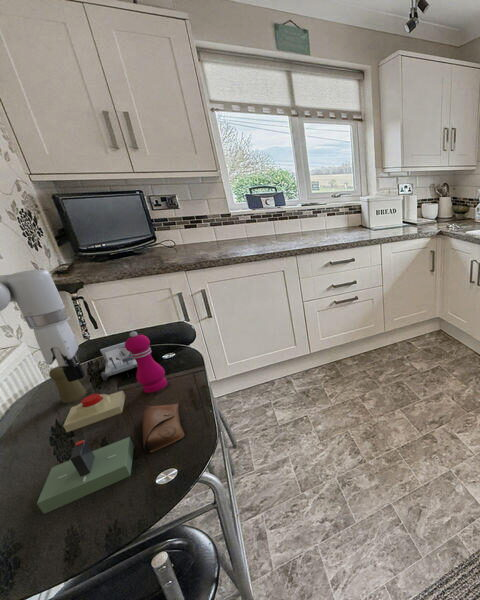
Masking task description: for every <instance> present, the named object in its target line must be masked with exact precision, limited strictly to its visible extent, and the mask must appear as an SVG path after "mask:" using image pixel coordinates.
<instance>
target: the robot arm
mask: <svg viewBox="0 0 480 600" xmlns="http://www.w3.org/2000/svg"><path fill="white" fill-rule="evenodd" d="M51 275H52V274H51V273H50V272H48V270H46V269H29V270H23V271H18V272H14V273H11V274H2V275H0V312H2V311H4V310H5V309H6V308H7V307H8V306H9V304H10V303H13V302H15V303H16V305H17V306H18V308H19V310H20V312H21V314H22V317H23V318H24V320H25V322H26V324H27V326H28V328H29V329H30V330H33V332H34V337H35V341H36V342H37V346H38V347H39V350H40V352H41V355H42V357H43V359H44V362H45V364H46V365H50V366H51V365H52V364H53V363H54V362H55V360H56V363H57V366H59V367H60V368H62V370H63V372H64V374H65V376H66V378H67V380H68V381H69V382H72V381H75V380H78V381H79V380H81V379H84V378H85V376H86V374H85V371H84V370H83V367H82V365H81V363H80V361H79V358H78V356H77V351H78V350H79V343H78V341H77V338H76V336H75V334H74V331H73V330H72V327H71V326H70V323H69V322H68V321H69V320H71V317H70V315H69V313H68V311H67V308H66V306H65V304H64V302H63V299H62V297H61V294H60V293H59V289H58V288H57V286H56V284H55V281H54V280H53V277H52V276H51Z"/></svg>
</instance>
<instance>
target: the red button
mask: <svg viewBox="0 0 480 600" xmlns="http://www.w3.org/2000/svg"><path fill="white" fill-rule="evenodd" d="M100 395H101V394H100V393H92V394H90V395H88V396H85V397H84V398H82V399H81V401H80V403H81V402H82V404H83V406H84V407H89V406H92V405H95V404H96V403H98V402H100V401H101V400H102V398H101V396H100Z"/></svg>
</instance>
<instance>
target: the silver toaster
mask: <svg viewBox="0 0 480 600" xmlns="http://www.w3.org/2000/svg"><path fill="white" fill-rule="evenodd" d="M125 342H126V341H125ZM125 342H120V343H117V344H113V345H110V346H107V347H103V348H100V351H99V352H100V353H101V355H102V357H103V359H102V360H101V362H102V365H103V367H104V368H105V369H104V371H102V372H100V376H101V379H102V380H103V381H108V377H110V376H114V375H117V374H120V373H123V372H125V371H129V370H132V369H135V368H137V367H138V366H137V362H136V360H135V358H132V355H131V352H129V351H128V350H126V348H125Z"/></svg>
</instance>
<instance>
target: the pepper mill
mask: <svg viewBox="0 0 480 600" xmlns="http://www.w3.org/2000/svg"><path fill="white" fill-rule="evenodd" d="M150 344H151V340H150V339H149V337H148V336H146V335H144V334H138V332H137V331H135V330H132V331H131V332H129V337H128V338H127V339H126V340H125V348H126V350H128V351H129V352H131V355H132V358H135V360H136V362H137V366H138V367H136V368H137V369H136V380H137V383H138V384H139V385H142V390H143V392H144V393H145V394H151V393H155V392H158V391H160V390H162V389H164V388H165V387H166V386H168V380H167V378H166V377H165V375H166V371H165V368H163V366H161V364H160V363H158V362H156V361H155V360H154V358H153V356H152V348H151V347H150Z"/></svg>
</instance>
